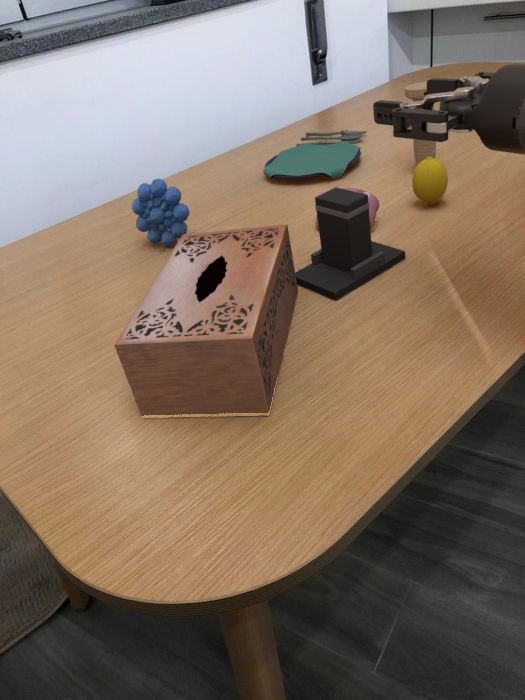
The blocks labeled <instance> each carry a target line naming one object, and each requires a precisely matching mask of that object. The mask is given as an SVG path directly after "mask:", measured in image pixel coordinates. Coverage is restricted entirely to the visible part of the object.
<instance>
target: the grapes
mask: <svg viewBox="0 0 525 700" xmlns="http://www.w3.org/2000/svg"><path fill="white" fill-rule="evenodd" d="M181 200H182V192H181V190H180V189H179V188H177V187H175V186H169V187H168V185H167V183H166V181H165V180H163V179H162V178H154V180H152V182H151V183H150V184H149V183H147V182H145V183H144V182H143V183H141V184H140V185H139V186H138V188H137V197H135V198H134V199H133V201H132V203H131V210H132V212H133V213H134V214H135V215H136V216H137V218H136V221H135V226H136V229H137V230H138V231H139V232H141V233H147V235H146V236H147V240H148V242H150V244H152V245H158V244H160V243H162V244H163V246H165V247H169V248H170V247H173V246H175V245H176V244H177V242H178V241H177V239H180V238H181V236H182V235H183V234H188V226H187V223H186V221H188V218H189V216H190V208H189V207H188V205H187V204H185V203H180V202H181Z"/></svg>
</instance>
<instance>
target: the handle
mask: <svg viewBox="0 0 525 700" xmlns="http://www.w3.org/2000/svg"><path fill="white" fill-rule="evenodd" d="M404 96H405V97H406V98H407V99H409V100H411V101H412V102H414V101H422V100H424V99H425V97H426V96H427V81H421V82H417V83H416V82H415V83H412V84H409V85H406V86H405V87H404ZM433 110H435V104H434V105H433ZM412 140H413V141H412V145H413V154H414V160H415V167H416V166H417V165H418V164H419V163H420V162H421V161H423V160H425V159H426V158H427V157H432V158H434V159H436V152H437V142H436V141H427V140H417V139H412Z"/></svg>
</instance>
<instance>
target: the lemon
mask: <svg viewBox="0 0 525 700" xmlns="http://www.w3.org/2000/svg"><path fill="white" fill-rule="evenodd" d="M448 181H449V177H448V171H447V168H446V166H445V165H444V163H443V162H442V161H441V160H439V159H437V158H435V159H434V158H432V157H427V158H426V159H425V160H423V161H421V162H420V163H419V164H418V165H417V166H416V165H415V168H414V170H413V174H412V180H411V184H412V191H413V194H414V195H415V197H416V198H417V199H418V200H419V201H421V202H423V203H426V204H427V205H428V206H432V205H433V204H434V203H435V202H437V201H439V200H440V199H441V198H443V196H445V193H446V192H447V189H448V183H449V182H448Z"/></svg>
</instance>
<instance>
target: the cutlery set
mask: <svg viewBox="0 0 525 700" xmlns="http://www.w3.org/2000/svg"><path fill="white" fill-rule="evenodd" d="M367 132H368V130H362V131H360V130H348V129H345V130H344V129H341V130H340V131H334V132H311V131H310V132H309V131H308V132H305V136H302V137H301V138H300V141H301V142H306V141H318V142H309V143H296V144H295V145H296V146H293V147H289V148H287V149H283V150H281V151H279V152H278V154H276V155H274V156H273V157H271V158H270V159H268V160H267V161H266V163H265V165H264V168H263V171H262V172H263V174H264V175H265V176H266V177H268V178H269V179H271V180H272V179H273V178H279V179H283V180H305V179H306V180H307V179H314V178H319V177H324V176H330V177H331V178H332V179H334V180H338V179H339V178H341V176H342V175H343V174H344V173H345V171H346V169H347V168H349V167H351V166H353V165H354V164H355V163H356V162H357V161H358V160H360V158H361V155H362V151H361V149H362V148H361V147H360V146H359V145H357V144H359V143H360V140H359V139H361V138H363V136H364V135H366V133H367ZM337 135H340V136H337ZM333 136H337V137H333ZM319 140H320V141H319ZM322 140H325V141H322ZM328 140H337V141H328ZM338 140H340V141H338ZM355 144H356V145H355Z"/></svg>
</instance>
